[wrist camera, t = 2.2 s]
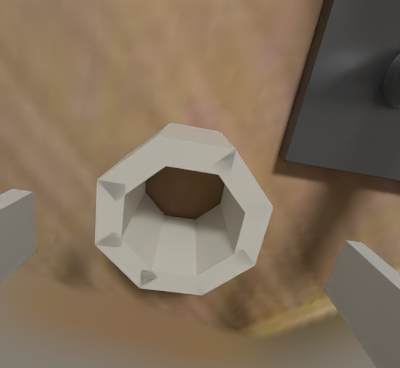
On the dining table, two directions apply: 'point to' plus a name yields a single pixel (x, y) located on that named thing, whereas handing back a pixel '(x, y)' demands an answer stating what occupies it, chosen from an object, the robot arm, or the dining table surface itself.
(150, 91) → the dining table surface
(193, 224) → the ring
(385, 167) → the post
